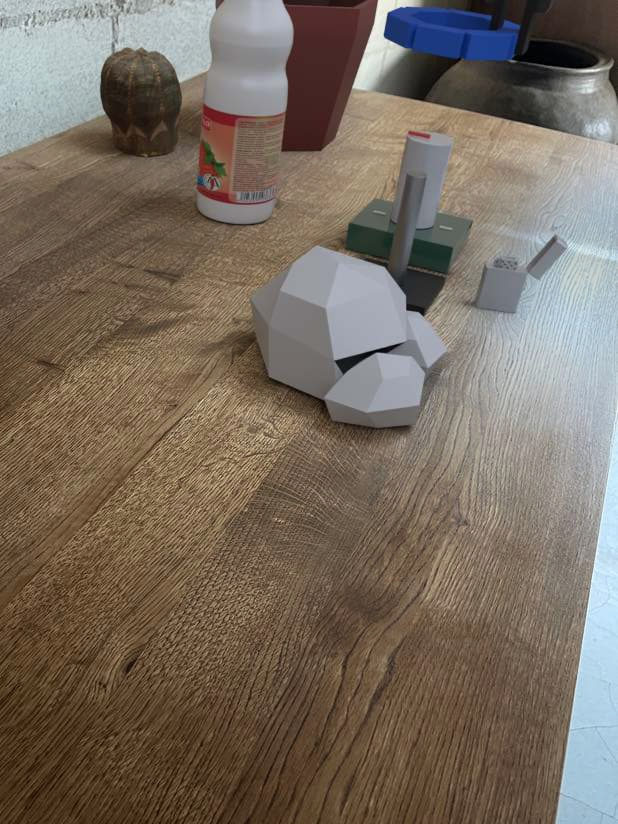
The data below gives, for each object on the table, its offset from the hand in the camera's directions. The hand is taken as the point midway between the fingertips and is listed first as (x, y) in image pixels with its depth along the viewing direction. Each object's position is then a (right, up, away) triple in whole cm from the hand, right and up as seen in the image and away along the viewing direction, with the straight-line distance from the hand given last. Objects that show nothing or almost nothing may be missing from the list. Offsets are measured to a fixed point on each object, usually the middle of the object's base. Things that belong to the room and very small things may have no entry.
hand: (505, 49), depth 84 cm
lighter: (+4, -21, +12) cm, 24 cm away
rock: (-16, -31, -3) cm, 34 cm away
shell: (-37, +10, +44) cm, 58 cm away
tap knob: (-4, -8, +21) cm, 23 cm away
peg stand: (-8, -19, +13) cm, 24 cm away
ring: (-5, +1, +2) cm, 5 cm away
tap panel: (-4, -11, +23) cm, 25 cm away
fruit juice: (-24, -5, +27) cm, 37 cm away
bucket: (-16, +16, +54) cm, 58 cm away
